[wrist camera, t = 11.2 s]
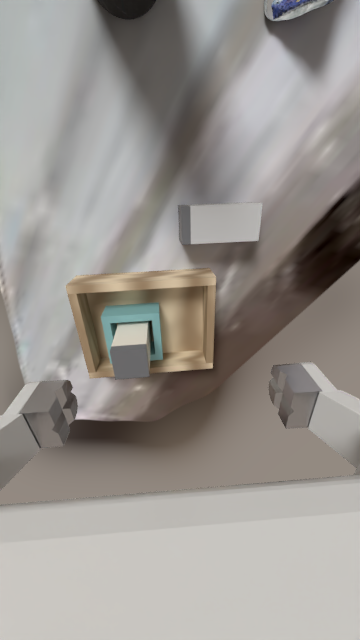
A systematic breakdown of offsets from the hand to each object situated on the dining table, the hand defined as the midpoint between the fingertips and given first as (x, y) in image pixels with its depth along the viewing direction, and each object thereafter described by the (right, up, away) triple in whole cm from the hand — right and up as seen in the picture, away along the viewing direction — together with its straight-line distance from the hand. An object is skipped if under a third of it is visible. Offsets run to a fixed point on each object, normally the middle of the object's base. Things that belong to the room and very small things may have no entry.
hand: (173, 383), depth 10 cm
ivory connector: (-6, +2, +26) cm, 26 cm away
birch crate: (-4, +3, +26) cm, 27 cm away
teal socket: (-6, +2, +26) cm, 27 cm away
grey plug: (+5, +15, +21) cm, 26 cm away
